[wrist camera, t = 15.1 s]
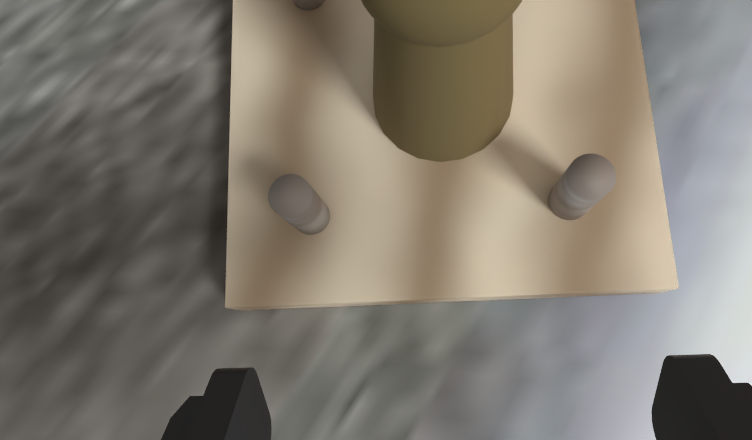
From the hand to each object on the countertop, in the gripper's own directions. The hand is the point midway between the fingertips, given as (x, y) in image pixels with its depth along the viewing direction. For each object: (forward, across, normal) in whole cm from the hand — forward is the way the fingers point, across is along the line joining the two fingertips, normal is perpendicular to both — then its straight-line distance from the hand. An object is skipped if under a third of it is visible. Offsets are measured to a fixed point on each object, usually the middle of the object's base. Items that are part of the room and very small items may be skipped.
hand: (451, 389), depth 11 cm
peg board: (+17, 0, +1) cm, 17 cm away
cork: (+16, 0, 0) cm, 16 cm away
